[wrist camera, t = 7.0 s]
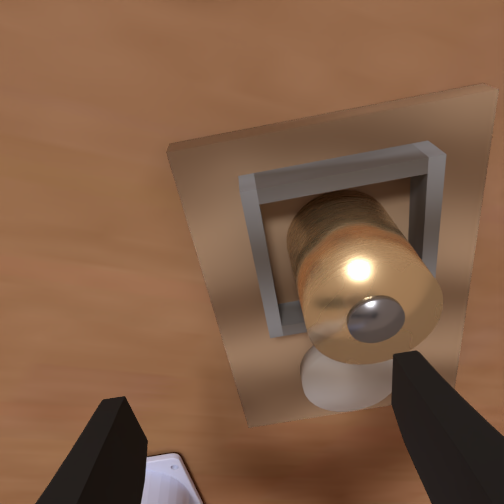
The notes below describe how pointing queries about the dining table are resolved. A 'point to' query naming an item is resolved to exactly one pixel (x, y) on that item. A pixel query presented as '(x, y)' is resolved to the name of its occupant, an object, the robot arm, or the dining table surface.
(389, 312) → the gold knobbed cylinder
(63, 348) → the dining table surface
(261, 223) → the carrier board
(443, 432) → the robot arm
